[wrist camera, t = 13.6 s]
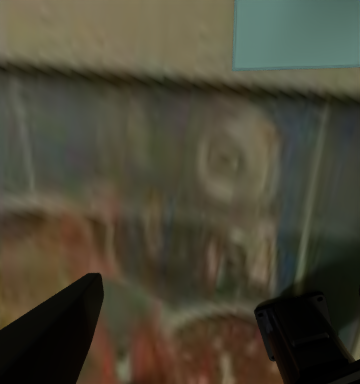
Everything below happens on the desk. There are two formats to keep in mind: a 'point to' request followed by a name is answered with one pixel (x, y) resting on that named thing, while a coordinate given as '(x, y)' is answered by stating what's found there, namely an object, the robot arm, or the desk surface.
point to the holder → (296, 34)
